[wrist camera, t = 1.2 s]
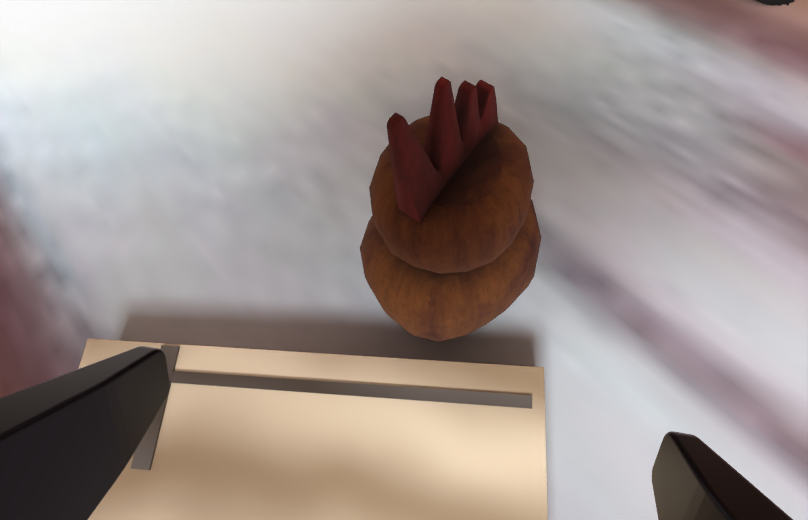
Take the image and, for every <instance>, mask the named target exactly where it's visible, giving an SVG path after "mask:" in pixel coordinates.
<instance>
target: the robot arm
mask: <svg viewBox="0 0 808 520" xmlns="http://www.w3.org/2000/svg"><path fill="white" fill-rule="evenodd" d="M169 391H170V379H169V373H168V367H167V361H166V356H165V353H164V352H163V350H161V349H159V348H153V347H147V346H139V347H136V348H133V349H131V350H128V351H125V352H123V353H120V354H117V355H115V356H112V357H109V358H107V359H104V360H101V361H99V362H96V363H93V364H91V365H88V366H85V367H83V368H80V369H77V370H75V371H72V372H69V373H67V374H64V375H61V376H59V377H56V378H53V379H51V380H48V381H45V382H42V383H40V384H37V385H34V386H32V387H29V388H26V389H24V390H21V391H18V392H16V393H13V394H10V395H8V396H5V397H2V398H0V520H88V519H89V517H90V516H91V514H92V513H93V512H94V510H95V509H96V508H97V506H98V505H99V503H100V502H101V501H102V499H103V498H104V497H105V495H106V494H107V492H108V491H109V490H110V488H111V487H112V486H113V484H114V483H115V481H116V480H117V479H118V477H119V476H120V474H121V473H122V471H123V470H124V469H125V467H126V465H127V464H128V462H129V461H130V459H131V457H132V456H133V454H134V452H135V451H136V449H137V447H138V446H139V444H140V442H141V441H142V439H143V437H144V436H145V434H146V432H147V431H148V429H149V427H150V425H151V424H152V422H153V420H154V419H155V417H156V415H157V414H158V412H159V410H160V409H161V407H162V405H163V404H164V402H165V400H166V398H167V396H168V394H169ZM652 484H653V490H654V496H655V502H656V507H657V513H658V519H659V520H793V519H792V518H791V517H789V516H788V515H787V514H786V513H785V512H784V511H782V510H781V509H780V508H779V507H778V506H777V505H775V504H774V503H773V502H772V501H771V500H770V499H769V498H767V497H766V496H765V495H764V494H763V493H762V492H760V491H759V490H758V489H757V488H756V487H755V486H753V485H752V484H751V483H750V482H749V481H748V480H747V479H745V478H744V477H743V476H742V475H741V474H740V473H738V472H737V471H736V470H735V469H734V468H733V467H731V466H730V465H729V464H728V463H727V462H726V461H725V460H723V459H722V458H721V457H720V456H719V455H718V454H716V453H715V452H714V451H713V450H712V449H711V448H709V447H708V446H707V445H706V444H705V443H704V442H703V441H701V440H700V439H699V438H698V437H696V436H694V435H691V434H685V433H679V432H668V433H667V434H666V435H665V436H664V438H663V441H662V444H661V446H660V449H659V452H658V455H657V457H656V460H655V463H654V466H653V470H652Z"/></svg>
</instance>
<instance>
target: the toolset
mask: <svg viewBox="0 0 808 520" xmlns="http://www.w3.org/2000/svg"><path fill="white" fill-rule="evenodd" d="M758 1H760V2H762V3H764V4H768V5H779V6H780V5H782V4H786V5H789V3H791V2H794V0H758Z"/></svg>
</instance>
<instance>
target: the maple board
mask: <svg viewBox="0 0 808 520" xmlns="http://www.w3.org/2000/svg"><path fill="white" fill-rule="evenodd" d="M139 346H147V347H153V348H159V349H161V350H163V352H164V353H165V356H166V361H167V367H168V373H169V379H170V391H169V394H168V396H167V398H166V400H165V402H164V404H163V405H162V407H161V409H160V410H159V412H158V414H157V415H156V417H155V419H154V420H153V422H152V424H151V425H150V427H149V429H148V431H147V432H146V434H145V436H144V437H143V439H142V441H141V442H140V444H139V446H138V447H137V449H136V451H135V452H134V454H133V456H132V457H131V459H130V461H129V462H128V464H127V465H126V467H125V469H124V470H123V471H122V473H121V474H120V476H119V477H118V479H117V480H116V481H115V483H114V484H113V486H112V487H111V488H110V490H109V491H108V492H107V494H106V495H105V497H104V498H103V499H102V501H101V502H100V503H99V505H98V506H97V508H96V509H95V510H94V512H93V513H92V514H91V516H90V517H89V519H88V520H547V479H546V436H545V393H544V367H529V366H513V365H497V364H481V363H466V362H450V361H434V360H418V359H402V358H387V357H371V356H355V355H339V354H324V353H308V352H292V351H276V350H260V349H245V348H229V347H213V346H197V345H182V344H166V343H150V342H134V341H118V340H103V339H88V340H87V343H86V346H85V350H84V353H83V356H82V359H81V363H80V366H79V369H80V368H83V367H85V366H88V365H91V364H93V363H96V362H99V361H101V360H104V359H107V358H109V357H112V356H115V355H117V354H120V353H123V352H125V351H128V350H131V349H133V348H136V347H139Z"/></svg>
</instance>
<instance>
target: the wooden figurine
mask: <svg viewBox="0 0 808 520" xmlns="http://www.w3.org/2000/svg"><path fill="white" fill-rule="evenodd" d="M387 131H388V139H389V145H388V146H387V147H386V149H385V150H384V151H383V153H382V154H381V156H380V158H379V161H378V164H377V167H376V170H375V173H374V176H373V179H372V182H371V185H370V187H369V189H370V197H371V205H372V214H373V216H372V217H371V219H370V220H369V223H368V226H367V229H366V232H365V234H364V237H363V240H362V243H361V246H360V251H361V257H362V263H363V268H364V274H365V278H366V280H367V282H368V284H369V286H370V288H371V289H372V291H373V293H374V294H375V296H376V298H377V299H378V301H379V303H380V305H381V306H382V308H383V310H384V311H385V312H386V313H387V315H388V316H390V317H391V318H392V319H393V320H394V321H396V322H397V323H398V324H399V325H400V326H402V327H403V328H404V329H405V330H406V331H407V332H409V333H410V334H412V335H413V336H417V337H421V338H426V339H430V340H434V341H438V342H441V341H445V340H449V339H453V338H457V337H461V336H465V335H467V334H469V333H470V332H472V331H474V330H476V329H478V328H480V327H482V326H484V325H486V324H487V323H489V322H490V321H491V320H493V319H494V318H496V317H497V316H498V315H500V314H501V313H502V312H504V311H505V310H506V309H507V308H508V307H509V306H510V305H511V304H512V303H513V302H514V301H515V300H516V299H517V298H518V296H519V295H520V294H521V293H522V292H523V291H524V290H525V289H526V288H527V287H528V286H529V284H530V282H531V280H532V279H533V277H534V273H535V268H536V262H537V257H538V252H539V247H540V241H541V235H540V231H539V227H538V222H537V218H536V214H535V210H534V206H533V201H532V200H531V199H530V198H531V193H532V188H533V182H534V181H533V176H532V171H531V166H530V162H529V157H528V153H527V149H526V146H525V145H524V144H523V143H522V141H521V140H520V139H519V138H518V137H517V136H516V135H515V134H514V133H513V132H512V131H511V130H510V129H509V128H508V127H507V126H505V125H503V124H501V123H499V122H498V116H497V104H496V96H495V89H494V86H492V85H490V84H488V83H486V82H484V81H483V80H480V81H479V82H478V83H477V85H476V86H474V85H473V84H471V83H469V82H467V81H464V82H463V83H462V84H461V85H460V87H459V89H458V93H457V97H456V101H455V104H454V98H453V93H452V88H451V82H450V81H449V80H447V79H445V78H443V77H441V78H440V79H439V80H438V81H437V83H436V85H435V89H434V94H433V100H432V106H431V112H430V116H427V117H424V118H421V119H418V120H416V121H414V122H413V123H411V124H410V125H408V123H407V121H406V120H405V118H404V117H403V116H401V115H399V114H398V113H394V114H393V115H392V116H391V118H390V119H389V120H388V123H387Z"/></svg>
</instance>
